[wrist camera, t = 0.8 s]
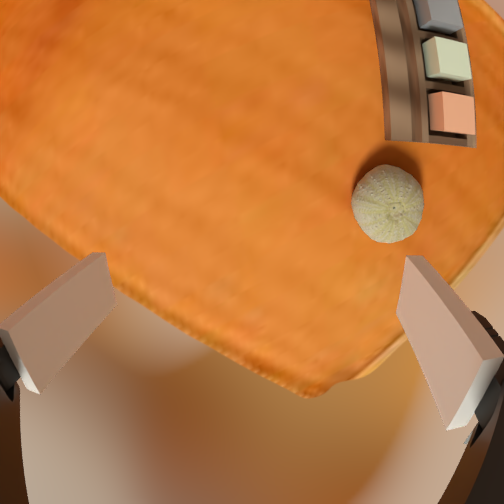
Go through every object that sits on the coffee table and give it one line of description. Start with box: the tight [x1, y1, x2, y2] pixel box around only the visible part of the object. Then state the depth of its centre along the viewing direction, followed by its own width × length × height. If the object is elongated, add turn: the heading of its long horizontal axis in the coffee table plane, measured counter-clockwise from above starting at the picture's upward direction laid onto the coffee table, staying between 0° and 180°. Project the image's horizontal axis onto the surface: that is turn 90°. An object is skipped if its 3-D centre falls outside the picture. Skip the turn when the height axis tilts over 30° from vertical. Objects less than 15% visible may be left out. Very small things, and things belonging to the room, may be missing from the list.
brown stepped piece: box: [370, 0, 476, 148], centre depth 25 cm, size 25×12×6 cm, turn 4°
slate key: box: [414, 0, 463, 35], centre depth 20 cm, size 4×4×4 cm
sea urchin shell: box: [351, 164, 424, 243], centre depth 34 cm, size 9×8×8 cm
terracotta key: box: [428, 91, 475, 135], centre depth 25 cm, size 4×4×4 cm
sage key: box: [422, 36, 472, 82], centre depth 22 cm, size 4×4×4 cm
